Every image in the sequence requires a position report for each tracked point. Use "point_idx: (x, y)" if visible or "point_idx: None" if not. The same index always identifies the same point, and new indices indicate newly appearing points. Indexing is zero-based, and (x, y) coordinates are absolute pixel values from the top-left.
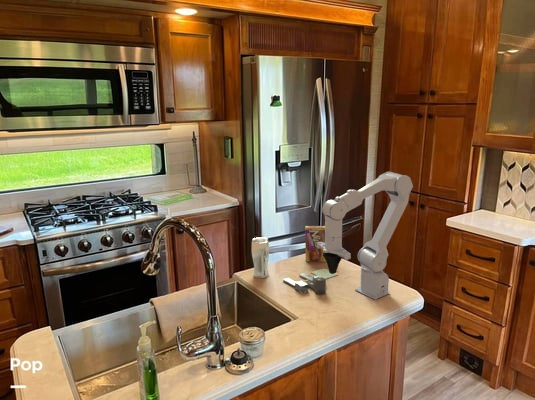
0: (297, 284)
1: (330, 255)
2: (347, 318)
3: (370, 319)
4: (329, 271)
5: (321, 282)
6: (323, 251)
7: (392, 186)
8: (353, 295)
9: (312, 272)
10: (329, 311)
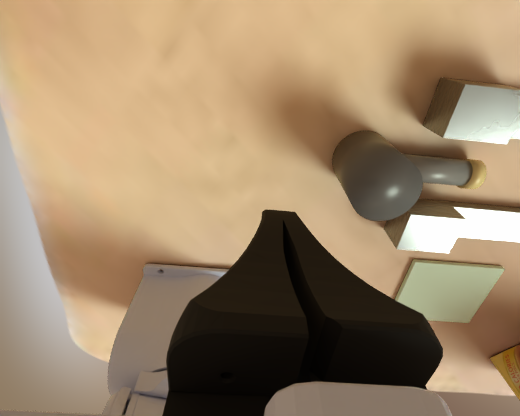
0: (507, 88)
1: (268, 364)
2: (66, 42)
3: (10, 125)
4: (291, 216)
5: (359, 171)
6: (410, 393)
7: None
8: (227, 237)
9: (497, 270)
10: (181, 25)
